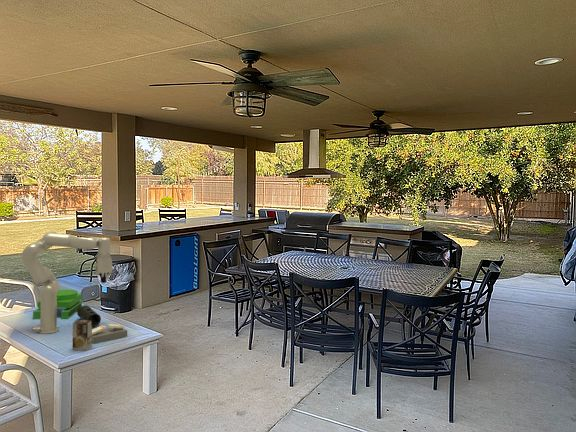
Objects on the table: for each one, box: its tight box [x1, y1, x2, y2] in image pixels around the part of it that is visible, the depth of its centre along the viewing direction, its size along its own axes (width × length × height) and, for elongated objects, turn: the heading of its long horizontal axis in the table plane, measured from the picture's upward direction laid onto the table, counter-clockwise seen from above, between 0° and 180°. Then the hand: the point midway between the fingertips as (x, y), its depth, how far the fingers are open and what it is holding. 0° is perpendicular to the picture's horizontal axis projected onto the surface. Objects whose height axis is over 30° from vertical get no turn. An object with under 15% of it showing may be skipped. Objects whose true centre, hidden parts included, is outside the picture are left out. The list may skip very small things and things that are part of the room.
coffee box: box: [72, 319, 93, 351], centre depth 258 cm, size 9×6×16 cm
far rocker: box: [106, 323, 125, 329], centre depth 283 cm, size 9×5×1 cm, turn 138°
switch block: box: [92, 327, 128, 345], centre depth 278 cm, size 22×12×5 cm, turn 138°
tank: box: [32, 289, 83, 320], centre depth 325 cm, size 24×35×16 cm
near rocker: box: [92, 324, 107, 335], centre depth 274 cm, size 9×5×1 cm, turn 138°
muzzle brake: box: [76, 304, 102, 329], centre depth 308 cm, size 10×28×10 cm, turn 39°
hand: (103, 282), depth 294 cm, fingers closed
